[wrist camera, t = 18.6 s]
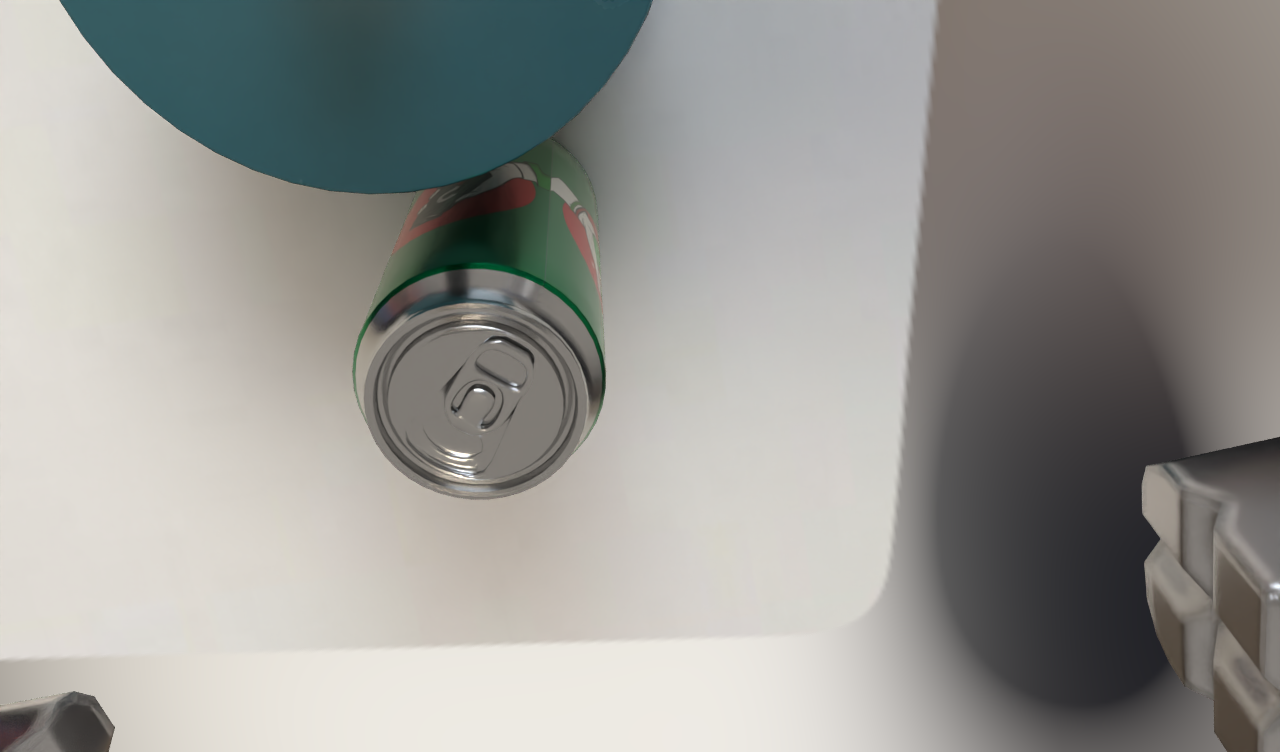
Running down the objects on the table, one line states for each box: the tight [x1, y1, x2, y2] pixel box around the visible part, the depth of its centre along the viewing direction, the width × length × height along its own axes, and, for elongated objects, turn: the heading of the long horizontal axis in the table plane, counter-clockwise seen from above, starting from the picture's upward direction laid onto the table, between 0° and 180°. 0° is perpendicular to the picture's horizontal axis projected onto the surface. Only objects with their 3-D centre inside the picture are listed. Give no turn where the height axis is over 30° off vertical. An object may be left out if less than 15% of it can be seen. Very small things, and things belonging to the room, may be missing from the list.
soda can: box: [352, 138, 606, 499], centre depth 28 cm, size 5×5×12 cm
